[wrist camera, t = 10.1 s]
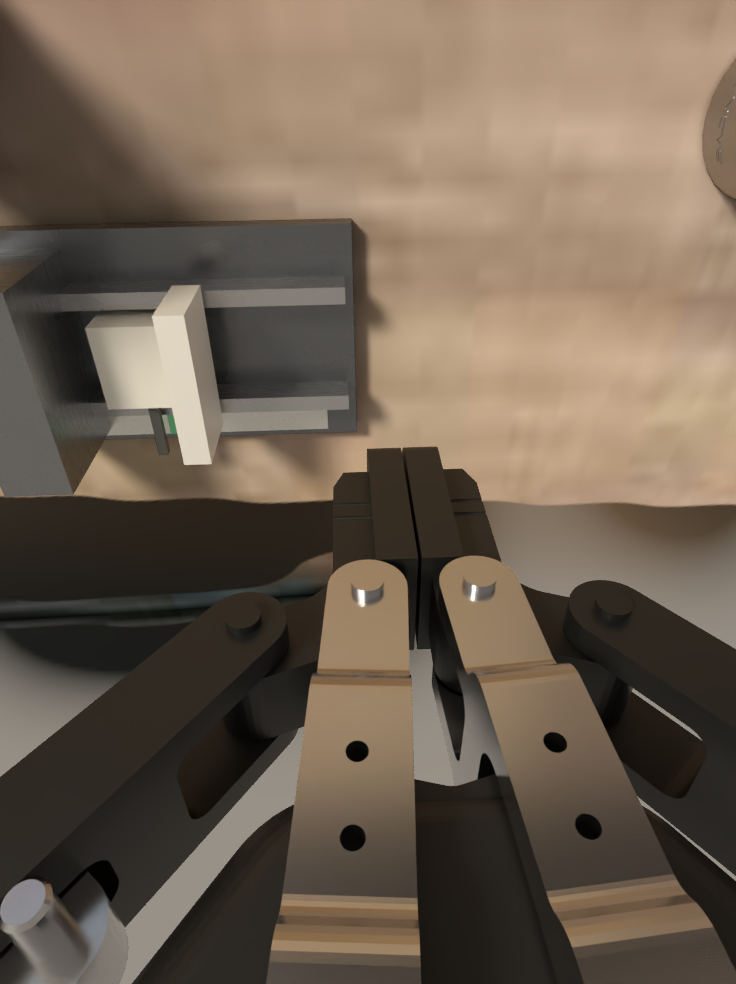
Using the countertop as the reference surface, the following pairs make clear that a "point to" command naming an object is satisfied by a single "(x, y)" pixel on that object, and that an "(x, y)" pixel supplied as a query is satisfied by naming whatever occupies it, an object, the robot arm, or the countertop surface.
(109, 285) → the frame
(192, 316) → the cream t-shaped handle
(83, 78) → the countertop surface
